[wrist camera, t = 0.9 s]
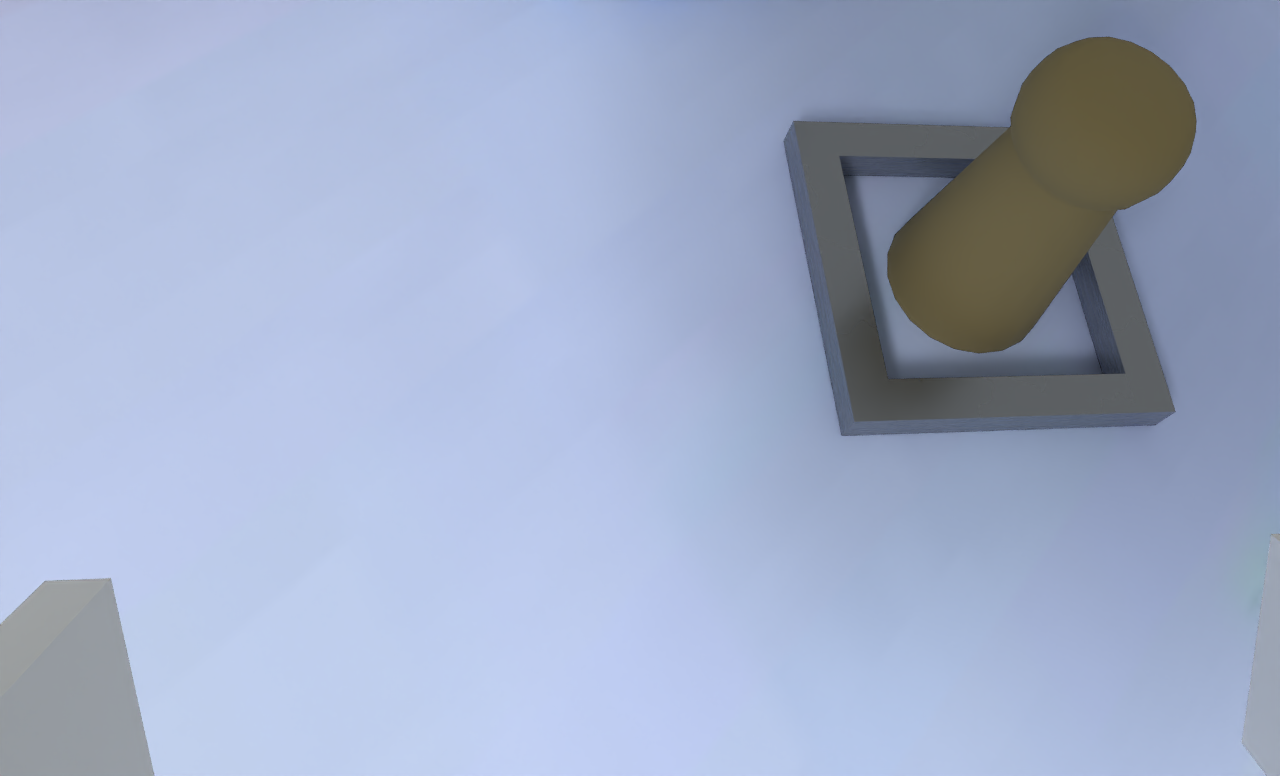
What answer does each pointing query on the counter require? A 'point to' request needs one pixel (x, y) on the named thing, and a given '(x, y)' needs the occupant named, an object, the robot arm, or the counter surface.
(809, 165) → the grey square frame
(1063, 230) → the cork
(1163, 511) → the counter surface
